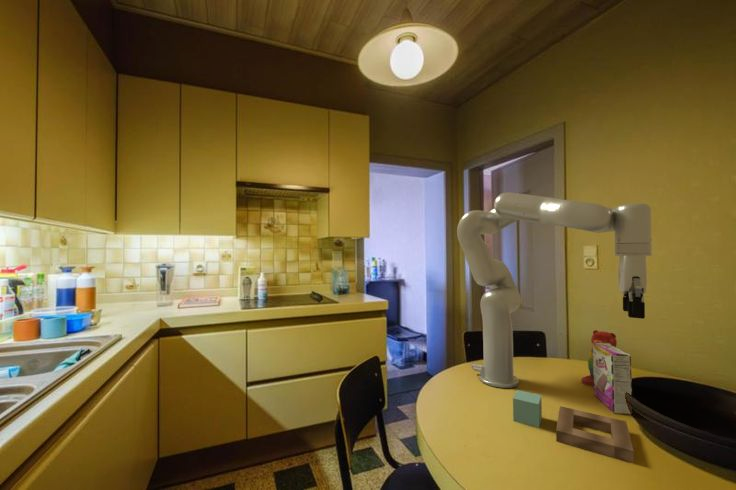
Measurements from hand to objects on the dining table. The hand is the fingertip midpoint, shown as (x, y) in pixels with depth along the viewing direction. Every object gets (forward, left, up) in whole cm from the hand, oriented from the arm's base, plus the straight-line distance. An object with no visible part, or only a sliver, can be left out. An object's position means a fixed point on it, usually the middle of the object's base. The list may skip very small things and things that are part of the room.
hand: (633, 314), depth 84 cm
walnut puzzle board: (-10, -16, -28) cm, 33 cm away
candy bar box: (-5, +6, -28) cm, 29 cm away
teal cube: (-24, -16, -28) cm, 40 cm away
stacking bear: (-6, +21, -28) cm, 35 cm away
